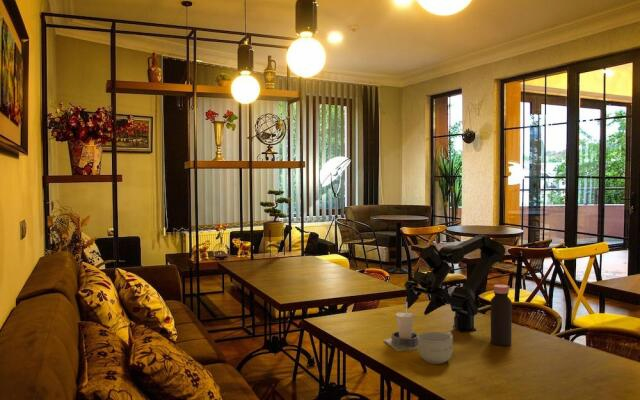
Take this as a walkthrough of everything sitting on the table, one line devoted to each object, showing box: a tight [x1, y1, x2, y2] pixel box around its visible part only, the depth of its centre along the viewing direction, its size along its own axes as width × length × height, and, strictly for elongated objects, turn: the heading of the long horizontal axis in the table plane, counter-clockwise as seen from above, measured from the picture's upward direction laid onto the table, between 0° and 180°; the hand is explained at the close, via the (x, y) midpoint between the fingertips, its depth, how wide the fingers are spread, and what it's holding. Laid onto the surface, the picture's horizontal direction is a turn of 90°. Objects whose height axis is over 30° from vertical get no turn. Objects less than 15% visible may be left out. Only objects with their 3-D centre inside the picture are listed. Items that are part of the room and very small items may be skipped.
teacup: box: [417, 331, 454, 365], centre depth 158 cm, size 14×11×8 cm
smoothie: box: [395, 301, 416, 339], centre depth 172 cm, size 6×6×14 cm
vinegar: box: [490, 284, 513, 347], centre depth 172 cm, size 7×7×20 cm
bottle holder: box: [383, 330, 419, 352], centre depth 172 cm, size 11×11×3 cm
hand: (415, 311), depth 174 cm, fingers open, 9 cm apart
